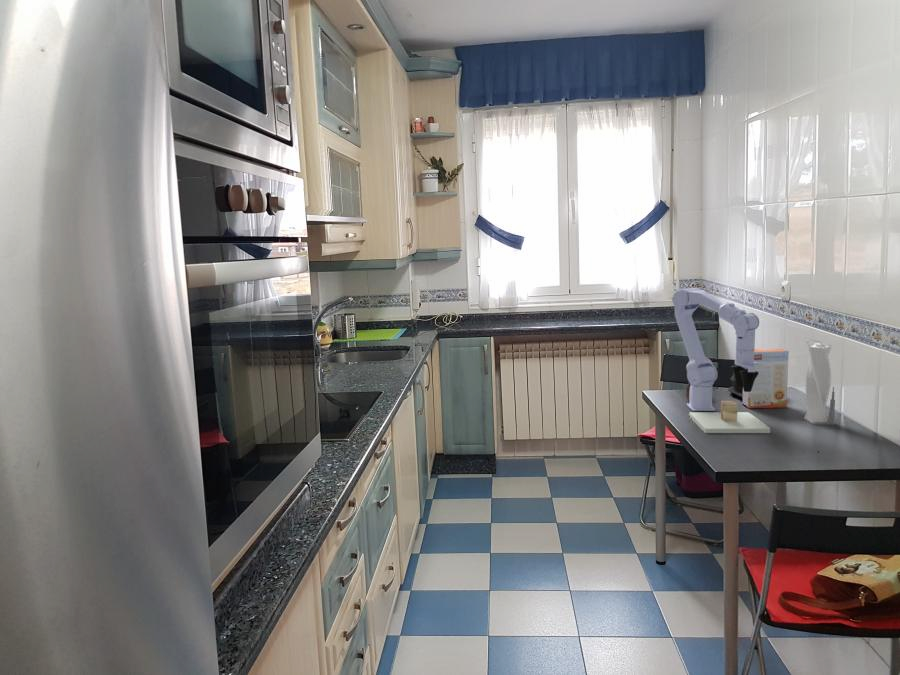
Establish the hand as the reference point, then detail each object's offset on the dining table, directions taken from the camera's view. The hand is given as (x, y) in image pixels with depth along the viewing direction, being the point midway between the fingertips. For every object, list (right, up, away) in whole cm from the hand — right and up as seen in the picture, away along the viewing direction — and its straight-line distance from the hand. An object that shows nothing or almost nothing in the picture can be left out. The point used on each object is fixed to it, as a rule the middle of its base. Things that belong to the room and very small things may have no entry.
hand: (743, 389), depth 235 cm
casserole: (+18, -5, +34) cm, 39 cm away
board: (-7, -11, -5) cm, 14 cm away
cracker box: (+15, -8, +17) cm, 24 cm away
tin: (-5, -6, +30) cm, 31 cm away
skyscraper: (+23, -11, -3) cm, 26 cm away
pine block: (-7, -10, -5) cm, 13 cm away
